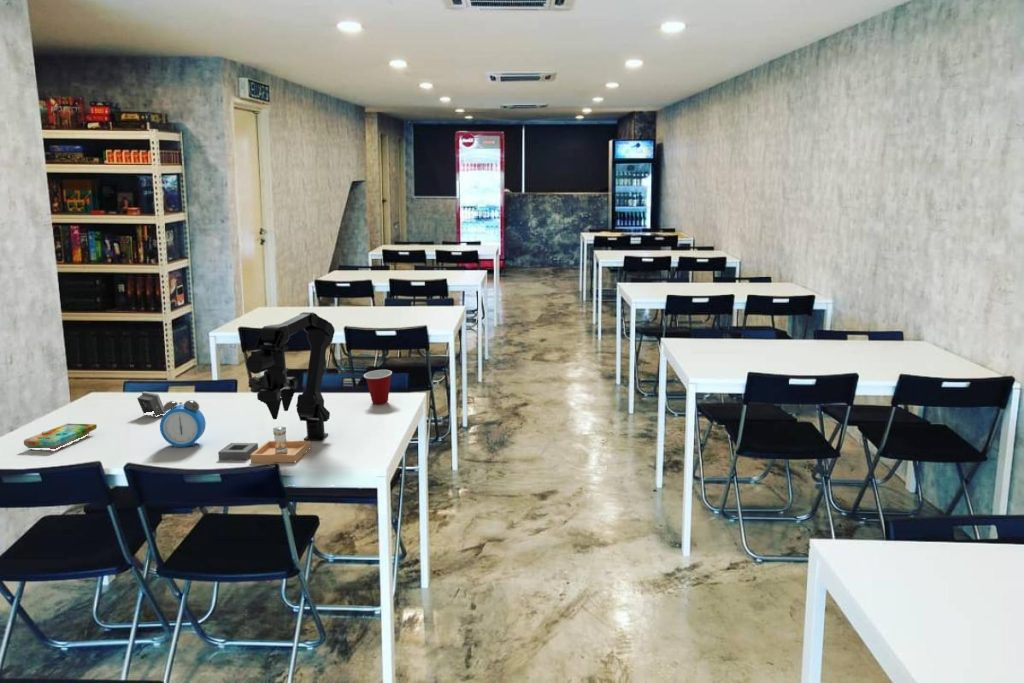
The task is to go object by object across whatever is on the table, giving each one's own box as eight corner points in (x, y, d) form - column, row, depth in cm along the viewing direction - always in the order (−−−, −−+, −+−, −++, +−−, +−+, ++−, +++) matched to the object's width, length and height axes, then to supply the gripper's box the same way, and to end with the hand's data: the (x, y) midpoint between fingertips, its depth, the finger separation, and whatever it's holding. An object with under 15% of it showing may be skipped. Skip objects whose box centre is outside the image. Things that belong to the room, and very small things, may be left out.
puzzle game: (23, 438, 272) (66, 420, 291) (25, 452, 273) (68, 433, 292) (54, 439, 269) (96, 421, 289) (56, 453, 270) (97, 434, 290)
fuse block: (231, 450, 267) (230, 442, 266) (258, 450, 266) (257, 443, 265) (218, 459, 258) (218, 452, 258) (246, 459, 257) (245, 452, 257)
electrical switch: (167, 415, 310) (162, 392, 308) (155, 420, 306) (150, 397, 304) (152, 412, 315) (147, 389, 313) (139, 417, 311) (134, 394, 309)
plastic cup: (359, 404, 319) (357, 373, 317) (381, 398, 327) (379, 368, 324) (377, 408, 312) (375, 377, 309) (399, 402, 320) (397, 371, 317)
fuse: (277, 450, 262) (275, 426, 261) (289, 450, 262) (287, 426, 260) (273, 454, 259) (271, 430, 257) (285, 454, 258) (282, 430, 257)
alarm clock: (161, 448, 271) (156, 404, 268) (168, 442, 277) (163, 399, 274) (202, 446, 271) (197, 402, 269) (208, 441, 278) (203, 397, 275)
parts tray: (268, 448, 268) (268, 440, 268) (310, 448, 266) (310, 440, 266) (251, 462, 254) (250, 454, 254) (295, 462, 253) (294, 455, 252)
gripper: (263, 359, 266) (267, 406, 269) (238, 373, 248) (243, 423, 251) (296, 359, 265) (300, 406, 268) (274, 373, 246) (278, 423, 250)
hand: (280, 415), depth 259 cm, fingers open, 9 cm apart
